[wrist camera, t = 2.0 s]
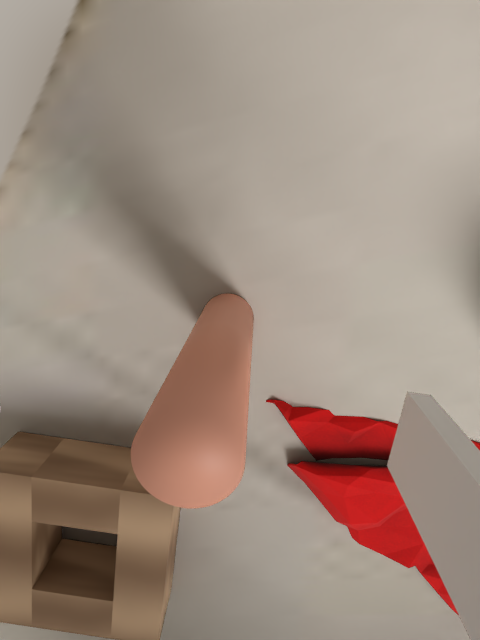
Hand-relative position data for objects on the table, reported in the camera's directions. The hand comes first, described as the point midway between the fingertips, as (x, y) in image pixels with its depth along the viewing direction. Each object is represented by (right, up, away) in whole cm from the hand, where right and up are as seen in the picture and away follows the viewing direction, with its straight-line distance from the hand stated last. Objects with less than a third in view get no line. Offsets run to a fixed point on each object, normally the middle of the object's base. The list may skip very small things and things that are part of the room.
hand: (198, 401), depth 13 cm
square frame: (-8, -11, +15) cm, 20 cm away
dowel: (+1, +3, +11) cm, 11 cm away
